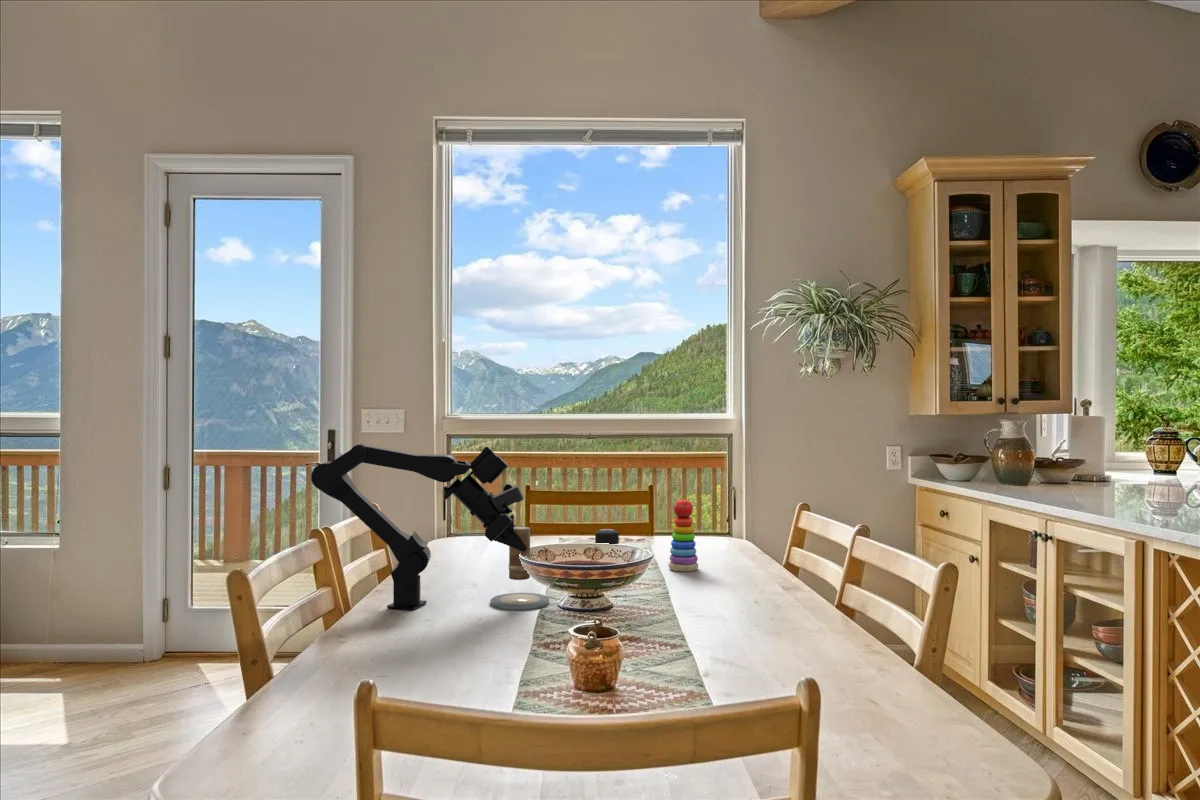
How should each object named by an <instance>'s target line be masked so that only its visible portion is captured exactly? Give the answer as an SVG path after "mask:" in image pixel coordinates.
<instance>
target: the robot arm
mask: <svg viewBox="0 0 1200 800" xmlns="http://www.w3.org/2000/svg"><path fill="white" fill-rule="evenodd" d="M361 464H369V465H375V466H380V467H386V468H392V469H396V470H403V471H408V472H412V473H413V472H414V473H416V474H419V475H421V476H424V477H426V478H428V479H431V480H435V481H436V482H439V483H448V482H451V481H452V480H454V479H455V478H456V477H457V476H461V475H465V474H466V473H467V472H469V473H468V474H467V475H466V476H465V477H464V478H461V477H457V478H456V479H455V480H454V481H453V482H452V483H451V484H450V485H449V486H448V485H444V486H443V491H444V492H443V493H444V494H443V495H444V496H443V499H444V500H447V499H449V498H450V497H451V496H454V497H455V498H456V499H457V500H458V501H459V502H460V504H462V505H463V506H464V507H465V508H466V509H467V510H468V511H469V514H470V516H472V517H473V516H474V517H475V518H476V519H477V520H478V521H479V522H480V523H481V524H482V527H483V528H484V536H485V537H486V538H487V539H488V540H489V541H490V542H491V543H492V542H493V541H494V542H498V543H500V544H502V545H506V546H508V547H509V546H510V547H513V548H515V549H518V550H520V551H523V552H525V551H526V550H527V547H526V546H525V544H524V543H523V541H522V540H521V538H520V537H519V536H518V534H517V533H516V531H515V530H514V527H517V526H516V525H515V514H514V513H512V512H513V509H512V507H510V506H511V505H513V504H515V503H520V502H521V501H524V496H523V494H522V492H521V489H520V487H519V485H518V484H517V485H514V486H513V484H511V483H507V484H505V485H503V490H502V491H501V492H500V493H497V494H493V492H491V491H490V492H488V491H487V490H486V488H484V487H483V486H482V485H481V484H483V485H486V484H487V483H489V484H490V485H492V484H493V483H494V482H495V481H496V480H497V479H498V478H499V477H500V476H501V475H502V474H503V473H504V472H505V471H506V470H507V469H508V468H509V467H510V466H509V464H507V462H506V461H505V460H504V459H503V458H502V457H501V456H500V455H499V454H497V453H496V452H494V450H492V449H491V448H490V447H489V446H487V445H486V446H484V448H483V449H482V450H481V451H480V453H479V454H477V456H476V457H475V458H474V459H473V460H472V461H471V462H470V461H468V460H466V461H463V460H458V459H456V457H455V456H453V455H450V454H433V453H432V454H416V453H410V452H406V451H401V450H400V451H399V450H394V449H389V448H383V447H378V446H372V445H368V444H366V443H358V444H356V445H353V447H352V448H351V449H349V450H348V451H347V452H345V453H344V454H341V455H340V456H338V457H337V458H335V459H334V460H331V461H330V460H329V461H326V462H324V463H323V462H322V463H319V464H318V465H316V466H315V467H314V468H313V469H312V471H311V474H310V478H311V480H310V481H311V483H312V485H313V487H314V488H316V489H318V490H319V491H320V492H322V493H324V494H325V495H327V496H329V497H331V498H332V499H335V500H336V501H339V502H341V503H342V504H343V505H344V506H345V507H346V508H347V509H349V510H350V512H351V513H353V514H354V515H355V516H356V517H357V518H358V519H359V520H360V521H361V522H362V523H364V525H366V526H367V527H368V528H369V529H370V530H371V531H372V532H373V533H374V534H375V535H376V536H378V538H380V540H382V541H383V542H384V543H385V544H386V545H387V546H388V547H389V549H390V551H391V552H392V554H393V556H394V558H395V559H396V561H397V562H398V563H397V564H396V565H395V567H394V568H393V570H392V571H391V572H390V576H391V578H392V581H393V582H392V583H393V587H392V588H393V592H392V594H393V601H392V603H390V604H387V606H386V608H387V609H396V610H408V611H413V610H416V609H418V608H420V607H421V606H423V605H426V604H427V600H422V599H421V575H420V573H423V571H424V570H426V568H427V567H428V564H429V563H430V560H431V555H432V554H431V553H432V552H431V550H430V548H429V546H428V545H429V543H428V542H427V541H425V540H423V539H422V538H421V537H420V535H419V534H418V533H417V532H416V531H413V532H412V534H411V535H410V534H408V533H406V532H404V531H403V530H401V529H400V528H399V527H398V526H397V525H396V524H395V523H394V522H393V521H391V519H389V518H388V516H386V514H384V513H383V512H382V511H381V510H380V509H379V508H378V507H377V506H375V505H374V504H373V503H372V502H371V501H370V500H369V499H368V498H367V497H366V496H365V495H364V494H363V493H362V492H360V490H359V489H357V487H356V486H355V484H354V481H352V479H351V477H350V476H349V474H348V473H349V472H351V471H352V470H354V469H355V468H357V467H358V466H359V465H361ZM469 470H471V471H469ZM472 475H473V476H474V477H473V476H472ZM475 478H476V479H477V480H478V481H479V482H480V483H481V484H480V483H479V482H478V481H477V480H476V479H475ZM511 513H512V514H511ZM509 514H511V515H509Z"/></svg>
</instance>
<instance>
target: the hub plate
mask: <svg viewBox="0 0 1200 800" xmlns="http://www.w3.org/2000/svg"><path fill="white" fill-rule="evenodd" d="M489 604H490V606H491V607H492V608H494V609H497V610H502V611H509V612H511V611H513V612H517V611H519V612H520V611H533V610H539V609H542V608H545V607H547V606H549V604H550V598H549V597H548V596H547V595H545V594H541V593H535V592H509V593H502V594H499V595H495V596H493V597H492V598H490V601H489Z"/></svg>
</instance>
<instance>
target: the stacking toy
mask: <svg viewBox="0 0 1200 800" xmlns="http://www.w3.org/2000/svg"><path fill="white" fill-rule="evenodd" d="M673 512H674V514H675V515H676V517H675V518H674V520H673V523H674V524H675V525H674V526H673V533H672V536H671V537H672V540H671V542H670V545H671V547H670V550H669V552H670V555H669V563H668V568H669V569H670V570H671V571H674V572H679V571H681V572H682V573H686V572H689V573H690V572H694V571H697V570H698V568H699V563H698V560H699V557H698V555H697V548H696V547H695V546H696V545H697V544H696V541H695V540H694V539H695V537H696V536H695V535H696V534H695V533H694V531H695V527H694V526H693V521H694V520H693V519H692V517H691V515H692V514H693V512H694V506H693V504H692V502H690V501H689V500H688V499H679V500H677V501H676V502H675V504H674V506H673Z"/></svg>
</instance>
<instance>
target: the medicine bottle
mask: <svg viewBox="0 0 1200 800" xmlns="http://www.w3.org/2000/svg"><path fill="white" fill-rule="evenodd" d="M594 533H595V534H594V535H595V536H594V539H595V541H594V543H609V544H619V545H620V543H619V542H620V541H619V540H620V539H619V537H620V534H619V531H618V530H616V529H611V528H610V529H608V528H603V529H599V530H596V531H595V532H594Z"/></svg>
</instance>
